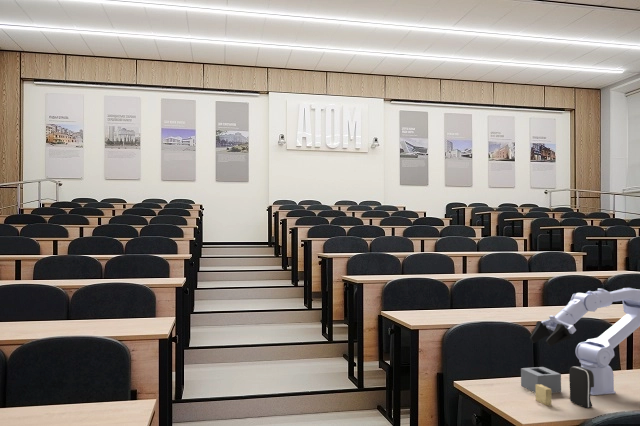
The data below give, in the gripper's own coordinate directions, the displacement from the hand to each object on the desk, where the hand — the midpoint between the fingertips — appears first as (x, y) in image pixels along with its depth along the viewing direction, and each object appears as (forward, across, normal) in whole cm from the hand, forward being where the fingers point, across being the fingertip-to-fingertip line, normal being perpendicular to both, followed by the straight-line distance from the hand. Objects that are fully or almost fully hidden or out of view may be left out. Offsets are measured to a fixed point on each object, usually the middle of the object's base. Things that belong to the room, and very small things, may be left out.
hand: (539, 342), depth 160 cm
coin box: (+4, -9, +18) cm, 21 cm away
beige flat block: (+12, +2, +14) cm, 19 cm away
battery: (+3, +7, +21) cm, 22 cm away
